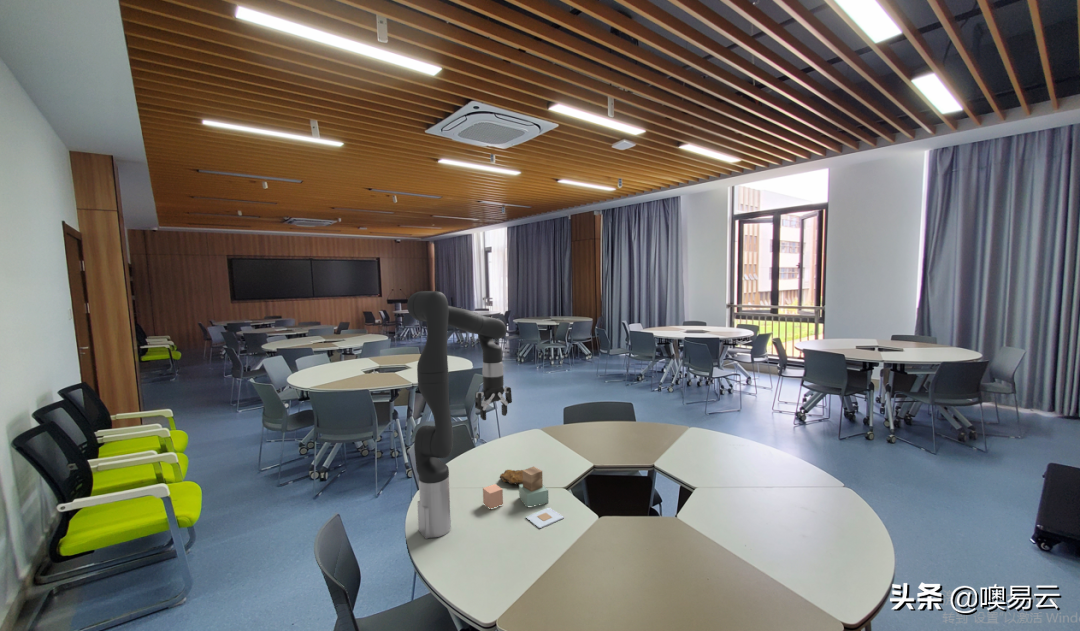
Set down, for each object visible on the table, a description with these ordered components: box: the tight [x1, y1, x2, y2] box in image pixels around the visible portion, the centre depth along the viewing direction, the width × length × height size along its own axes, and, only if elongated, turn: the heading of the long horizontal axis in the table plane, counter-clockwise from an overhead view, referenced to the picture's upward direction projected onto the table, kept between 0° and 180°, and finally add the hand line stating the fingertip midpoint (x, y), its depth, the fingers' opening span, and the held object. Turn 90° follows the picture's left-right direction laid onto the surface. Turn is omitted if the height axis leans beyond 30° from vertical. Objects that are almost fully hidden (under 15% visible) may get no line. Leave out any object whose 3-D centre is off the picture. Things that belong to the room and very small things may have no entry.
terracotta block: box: [482, 483, 504, 509], centre depth 152 cm, size 5×5×6 cm
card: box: [524, 506, 565, 529], centre depth 143 cm, size 10×8×1 cm
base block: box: [518, 484, 549, 508], centre depth 155 cm, size 8×8×5 cm
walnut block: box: [522, 466, 544, 492], centre depth 155 cm, size 5×5×6 cm
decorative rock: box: [498, 469, 524, 485], centre depth 170 cm, size 11×4×15 cm
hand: (494, 417), depth 160 cm, fingers open, 8 cm apart
